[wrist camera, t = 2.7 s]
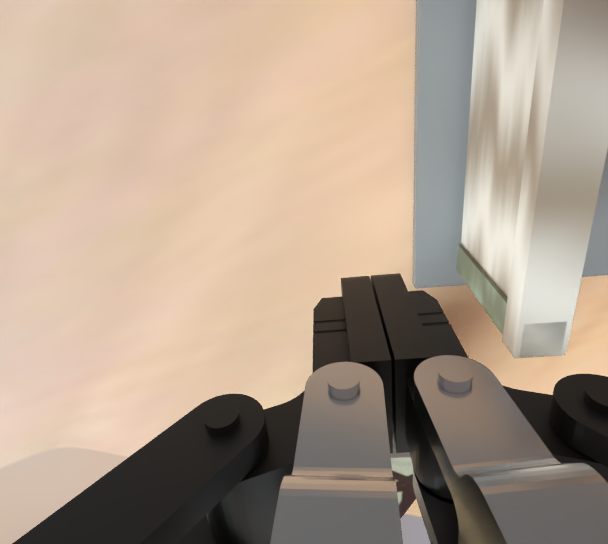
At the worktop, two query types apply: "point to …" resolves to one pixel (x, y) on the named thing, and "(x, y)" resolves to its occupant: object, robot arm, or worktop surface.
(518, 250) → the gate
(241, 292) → the worktop surface
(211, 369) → the worktop surface
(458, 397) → the robot arm
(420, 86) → the plaque display stand
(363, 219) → the worktop surface
